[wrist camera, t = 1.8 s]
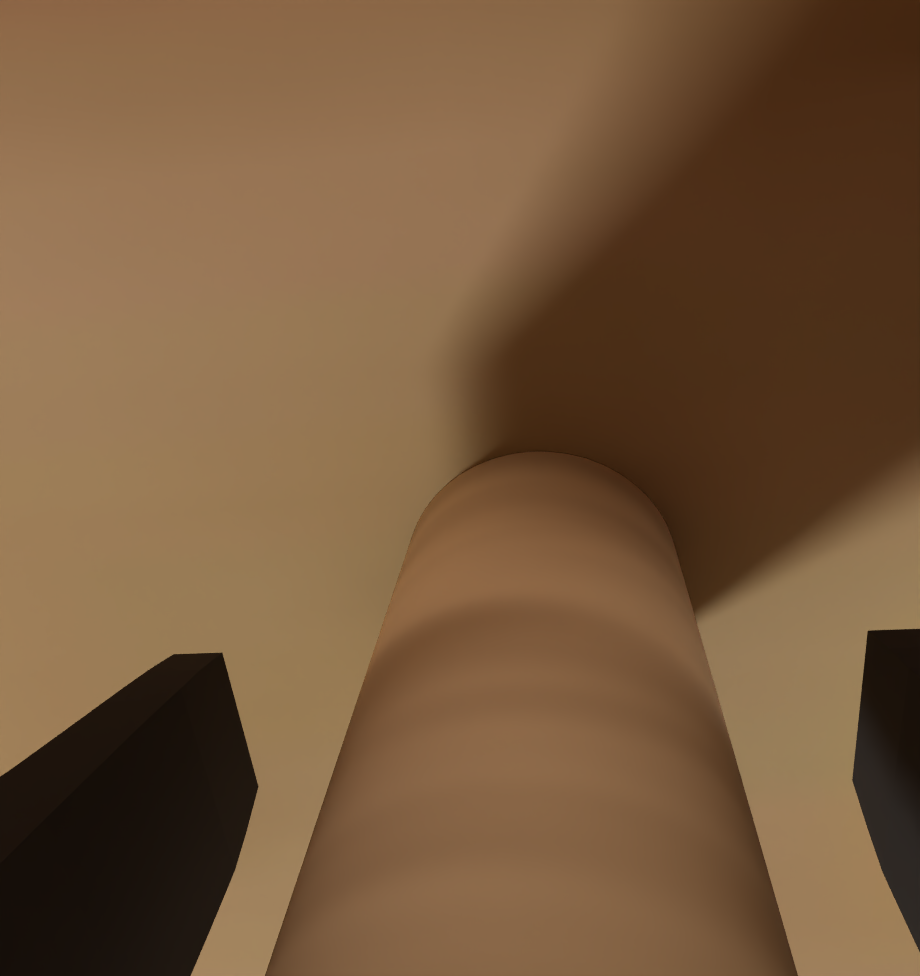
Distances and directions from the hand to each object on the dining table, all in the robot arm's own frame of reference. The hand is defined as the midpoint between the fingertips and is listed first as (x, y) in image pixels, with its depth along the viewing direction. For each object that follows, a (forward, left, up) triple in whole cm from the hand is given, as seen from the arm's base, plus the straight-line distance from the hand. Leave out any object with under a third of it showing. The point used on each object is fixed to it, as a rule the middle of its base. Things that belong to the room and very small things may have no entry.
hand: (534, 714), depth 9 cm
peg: (0, 0, -3) cm, 3 cm away
